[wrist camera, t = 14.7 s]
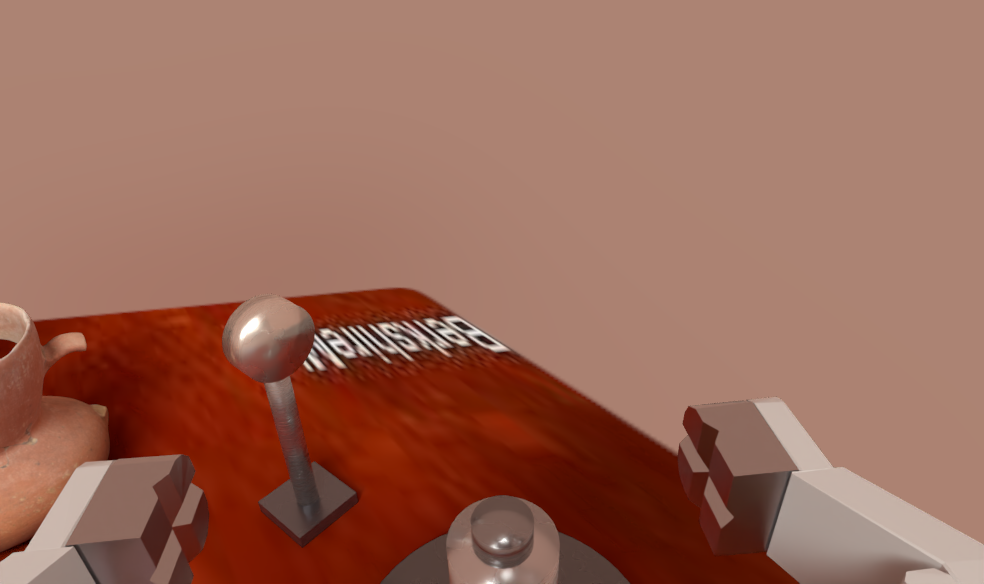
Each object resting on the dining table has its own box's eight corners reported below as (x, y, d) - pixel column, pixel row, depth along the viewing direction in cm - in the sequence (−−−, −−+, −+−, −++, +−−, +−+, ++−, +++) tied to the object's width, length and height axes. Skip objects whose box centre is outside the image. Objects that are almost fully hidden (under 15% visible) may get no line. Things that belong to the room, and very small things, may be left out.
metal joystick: (261, 511, 46) (194, 305, 37) (316, 470, 49) (268, 271, 40) (302, 547, 43) (241, 335, 34) (358, 501, 47) (317, 296, 37)
